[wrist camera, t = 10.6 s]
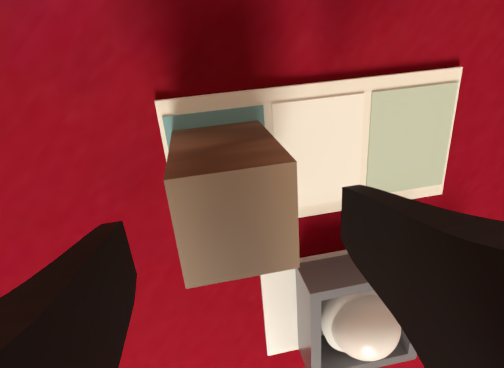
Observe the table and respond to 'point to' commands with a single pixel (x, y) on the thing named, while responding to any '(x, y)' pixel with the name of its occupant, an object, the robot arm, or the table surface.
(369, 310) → the dome
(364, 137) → the game board
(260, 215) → the brown wooden block
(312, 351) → the dome base
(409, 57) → the table surface
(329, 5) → the table surface
